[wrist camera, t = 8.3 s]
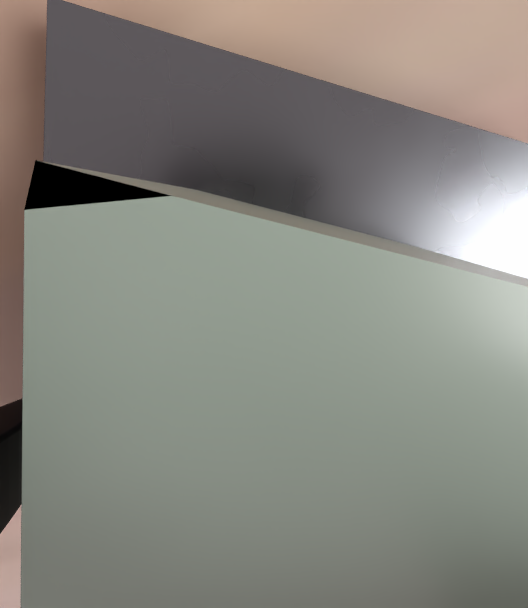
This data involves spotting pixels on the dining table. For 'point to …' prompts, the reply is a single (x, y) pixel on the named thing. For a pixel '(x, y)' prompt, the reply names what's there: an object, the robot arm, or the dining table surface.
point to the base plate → (278, 140)
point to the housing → (262, 409)
